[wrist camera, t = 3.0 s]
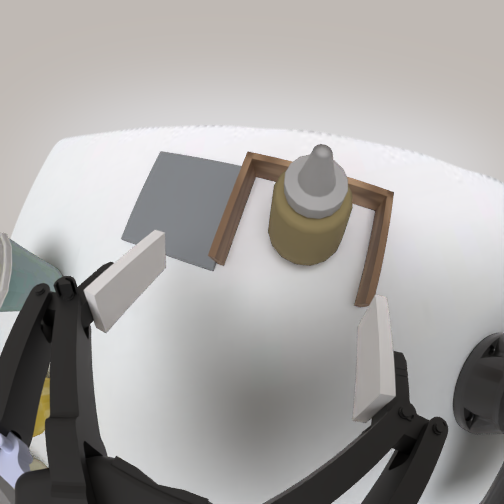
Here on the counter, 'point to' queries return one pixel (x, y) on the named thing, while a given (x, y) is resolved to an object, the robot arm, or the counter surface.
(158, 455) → the counter surface
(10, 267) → the disposable coffee cup
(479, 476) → the counter surface
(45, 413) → the plant pot
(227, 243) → the walnut nook
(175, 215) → the slate mat
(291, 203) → the squeeze bottle
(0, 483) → the reusable coffee cup
